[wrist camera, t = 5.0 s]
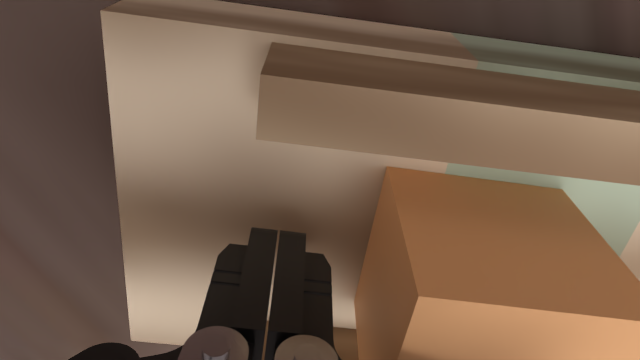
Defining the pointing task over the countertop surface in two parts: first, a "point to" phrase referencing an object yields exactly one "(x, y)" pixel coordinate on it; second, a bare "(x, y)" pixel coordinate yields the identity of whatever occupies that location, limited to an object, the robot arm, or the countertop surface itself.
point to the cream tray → (336, 138)
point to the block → (490, 276)
